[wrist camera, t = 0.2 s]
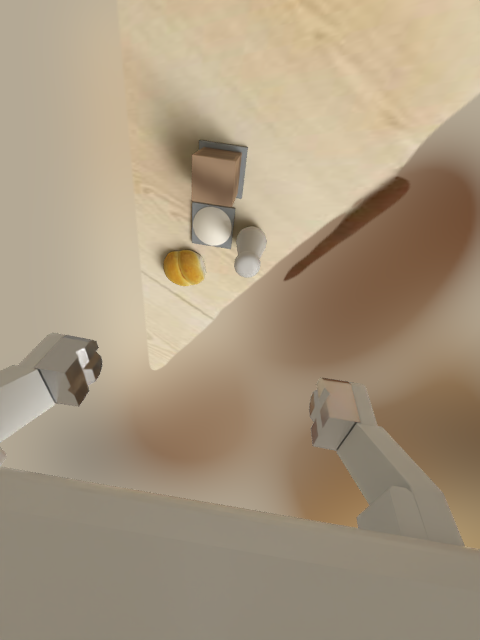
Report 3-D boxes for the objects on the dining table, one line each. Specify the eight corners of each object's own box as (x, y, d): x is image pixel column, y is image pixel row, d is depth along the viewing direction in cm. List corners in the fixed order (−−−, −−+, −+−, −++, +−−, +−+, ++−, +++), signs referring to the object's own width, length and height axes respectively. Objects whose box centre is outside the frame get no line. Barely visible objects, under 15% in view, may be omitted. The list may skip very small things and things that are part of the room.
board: (199, 139, 47) (191, 144, 42) (247, 147, 46) (244, 152, 42) (198, 191, 52) (191, 199, 47) (241, 197, 52) (238, 207, 47)
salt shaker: (233, 244, 57) (224, 276, 47) (243, 217, 54) (235, 246, 44) (260, 254, 58) (256, 288, 48) (271, 229, 55) (270, 259, 44)
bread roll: (160, 251, 60) (153, 260, 57) (199, 245, 59) (195, 254, 55) (173, 284, 65) (168, 294, 62) (210, 279, 63) (206, 289, 60)
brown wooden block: (203, 146, 47) (192, 154, 40) (241, 152, 47) (236, 161, 40) (202, 187, 51) (191, 200, 44) (237, 193, 51) (231, 207, 44)
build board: (193, 201, 53) (192, 202, 52) (235, 208, 53) (234, 209, 52) (192, 241, 58) (191, 243, 57) (231, 247, 58) (230, 249, 57)
